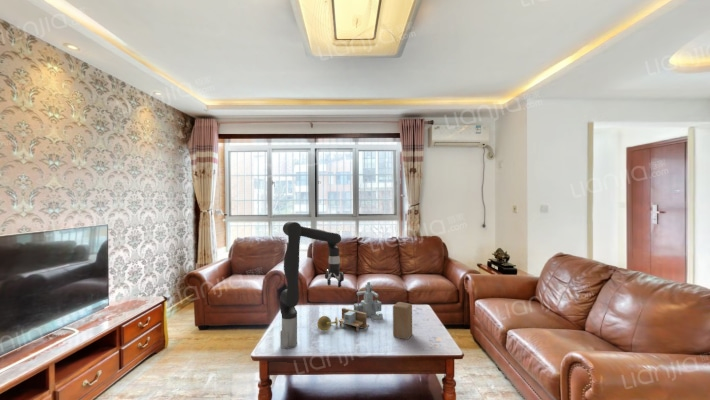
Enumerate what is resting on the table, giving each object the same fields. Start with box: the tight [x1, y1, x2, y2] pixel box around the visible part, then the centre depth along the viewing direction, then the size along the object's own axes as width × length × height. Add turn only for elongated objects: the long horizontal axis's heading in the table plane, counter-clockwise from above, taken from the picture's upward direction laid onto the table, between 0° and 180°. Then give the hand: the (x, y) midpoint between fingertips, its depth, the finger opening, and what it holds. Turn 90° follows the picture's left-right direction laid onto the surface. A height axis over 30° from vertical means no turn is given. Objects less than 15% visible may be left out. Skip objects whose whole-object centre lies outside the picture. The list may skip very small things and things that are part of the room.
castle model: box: [353, 281, 384, 321], centre depth 218 cm, size 17×17×25 cm
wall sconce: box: [316, 315, 339, 332], centre depth 193 cm, size 14×10×25 cm
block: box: [392, 301, 413, 340], centre depth 186 cm, size 10×10×20 cm
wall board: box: [338, 307, 370, 332], centre depth 202 cm, size 11×20×10 cm, turn 57°
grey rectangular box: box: [343, 311, 356, 325], centre depth 198 cm, size 8×5×6 cm, turn 148°
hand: (334, 286), depth 194 cm, fingers open, 8 cm apart
